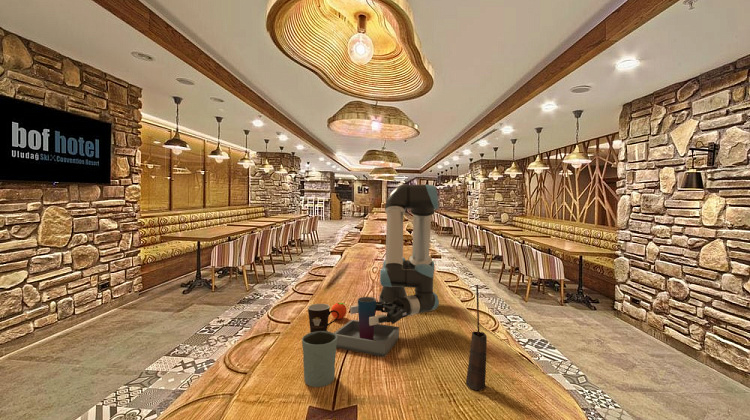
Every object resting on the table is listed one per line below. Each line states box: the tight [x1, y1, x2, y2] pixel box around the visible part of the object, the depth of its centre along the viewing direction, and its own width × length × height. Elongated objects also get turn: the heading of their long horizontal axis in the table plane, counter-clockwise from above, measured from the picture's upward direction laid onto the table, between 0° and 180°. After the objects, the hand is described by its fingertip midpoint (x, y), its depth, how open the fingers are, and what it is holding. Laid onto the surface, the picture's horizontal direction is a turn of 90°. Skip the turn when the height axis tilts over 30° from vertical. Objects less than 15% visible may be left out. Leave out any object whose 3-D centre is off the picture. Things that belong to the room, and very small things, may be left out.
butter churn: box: [465, 284, 488, 391], centre depth 86 cm, size 9×10×28 cm
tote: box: [333, 319, 400, 358], centre depth 115 cm, size 16×20×4 cm
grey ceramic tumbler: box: [301, 330, 337, 388], centre depth 90 cm, size 10×10×12 cm
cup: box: [357, 296, 377, 340], centre depth 115 cm, size 7×7×15 cm
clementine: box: [330, 302, 349, 320], centre depth 140 cm, size 8×7×7 cm
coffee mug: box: [307, 303, 339, 333], centre depth 123 cm, size 12×9×10 cm
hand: (359, 315), depth 113 cm, fingers open, 13 cm apart
